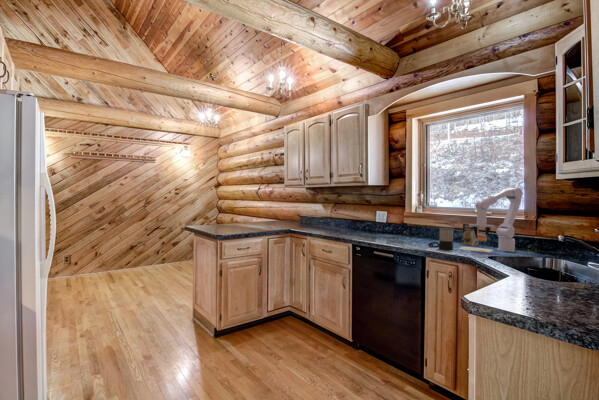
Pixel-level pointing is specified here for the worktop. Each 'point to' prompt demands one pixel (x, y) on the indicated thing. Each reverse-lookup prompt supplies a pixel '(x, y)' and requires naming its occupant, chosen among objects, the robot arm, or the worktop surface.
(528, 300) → the worktop surface
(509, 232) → the robot arm
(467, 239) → the coffee box
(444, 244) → the milk frother
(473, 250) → the mat
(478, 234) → the block
